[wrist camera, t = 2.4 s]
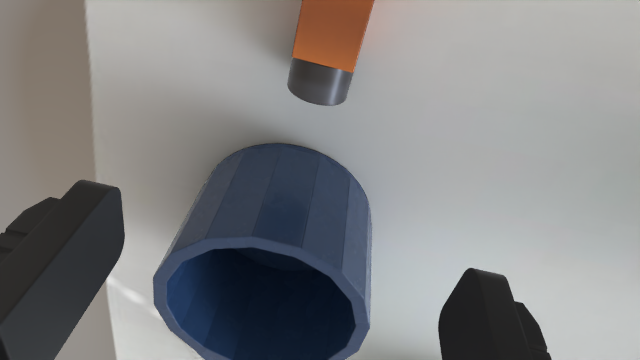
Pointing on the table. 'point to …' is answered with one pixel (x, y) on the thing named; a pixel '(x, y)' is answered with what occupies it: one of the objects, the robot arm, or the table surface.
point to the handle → (327, 49)
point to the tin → (271, 260)
